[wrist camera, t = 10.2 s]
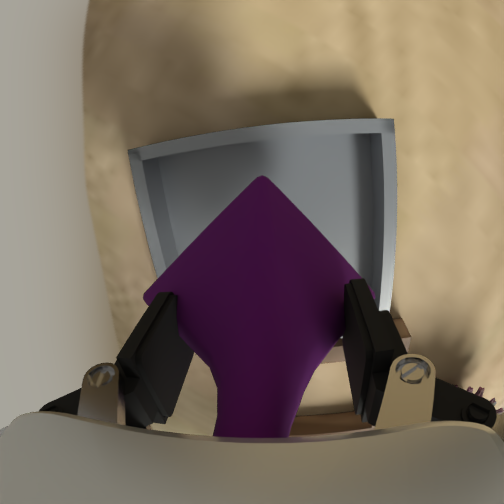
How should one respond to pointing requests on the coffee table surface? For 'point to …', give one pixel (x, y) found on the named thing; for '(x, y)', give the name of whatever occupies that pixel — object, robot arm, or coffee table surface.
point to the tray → (286, 179)
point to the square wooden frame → (339, 421)
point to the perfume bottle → (259, 307)
